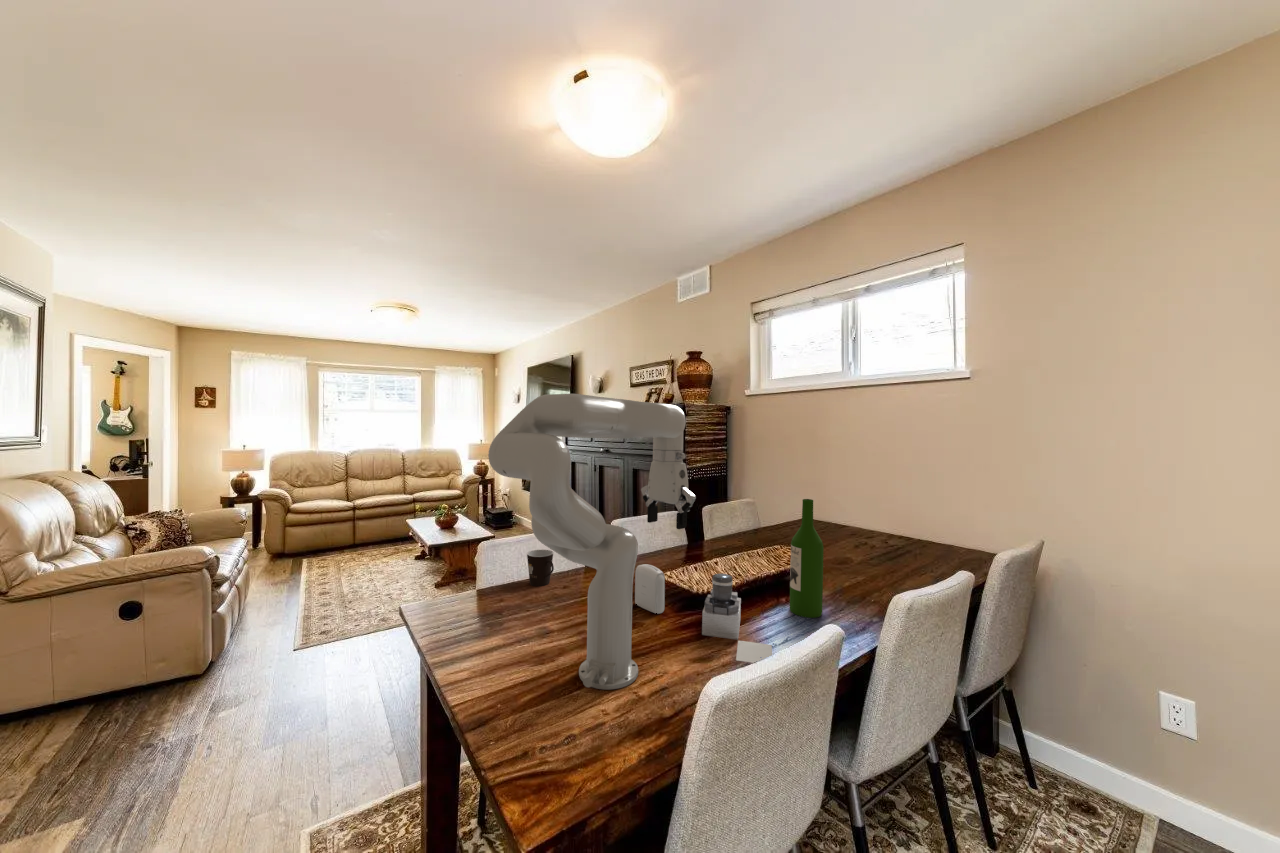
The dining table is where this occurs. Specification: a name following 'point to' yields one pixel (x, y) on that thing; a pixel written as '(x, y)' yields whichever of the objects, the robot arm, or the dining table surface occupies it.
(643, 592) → the photo printer
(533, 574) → the coffee mug
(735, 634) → the octagonal socket block
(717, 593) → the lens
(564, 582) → the dining table surface
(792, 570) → the wine bottle
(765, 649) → the mat
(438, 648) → the dining table surface
